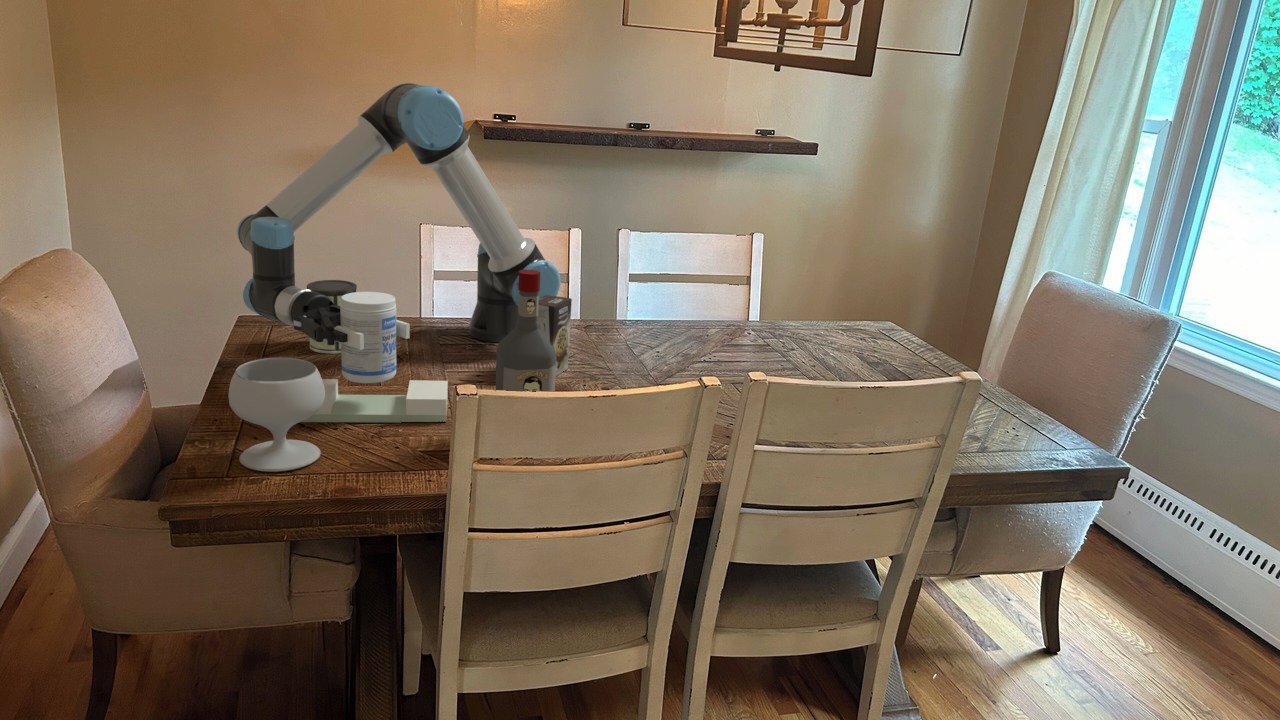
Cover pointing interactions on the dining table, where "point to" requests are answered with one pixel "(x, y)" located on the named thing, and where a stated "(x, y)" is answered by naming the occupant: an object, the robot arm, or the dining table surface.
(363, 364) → the supplement tub
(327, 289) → the coffee can
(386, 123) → the robot arm
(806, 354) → the dining table surface
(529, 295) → the liquor
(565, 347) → the coffee box
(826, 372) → the dining table surface
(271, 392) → the chalice
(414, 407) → the rail
